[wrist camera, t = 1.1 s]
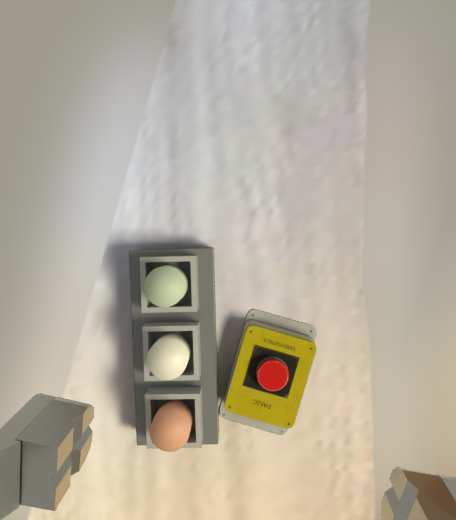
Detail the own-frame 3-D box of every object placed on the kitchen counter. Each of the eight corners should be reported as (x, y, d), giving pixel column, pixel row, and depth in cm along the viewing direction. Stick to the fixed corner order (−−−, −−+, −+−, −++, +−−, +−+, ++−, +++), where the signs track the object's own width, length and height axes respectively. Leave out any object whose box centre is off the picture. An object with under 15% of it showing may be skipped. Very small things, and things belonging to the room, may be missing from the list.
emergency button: (326, 335, 40) (290, 454, 41) (317, 326, 44) (285, 434, 45) (250, 313, 40) (215, 432, 41) (249, 306, 44) (217, 414, 45)
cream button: (191, 369, 40) (187, 379, 37) (154, 370, 40) (147, 380, 37) (190, 332, 40) (186, 339, 37) (152, 333, 40) (145, 340, 37)
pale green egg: (189, 302, 40) (185, 306, 37) (151, 303, 40) (144, 307, 37) (187, 264, 39) (183, 266, 36) (150, 265, 40) (143, 267, 37)
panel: (219, 430, 45) (217, 454, 40) (143, 431, 45) (131, 455, 40) (213, 248, 44) (211, 248, 39) (136, 250, 44) (123, 250, 39)
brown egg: (193, 435, 40) (189, 451, 37) (156, 436, 40) (150, 451, 37) (192, 399, 40) (188, 412, 37) (155, 400, 40) (148, 412, 37)
